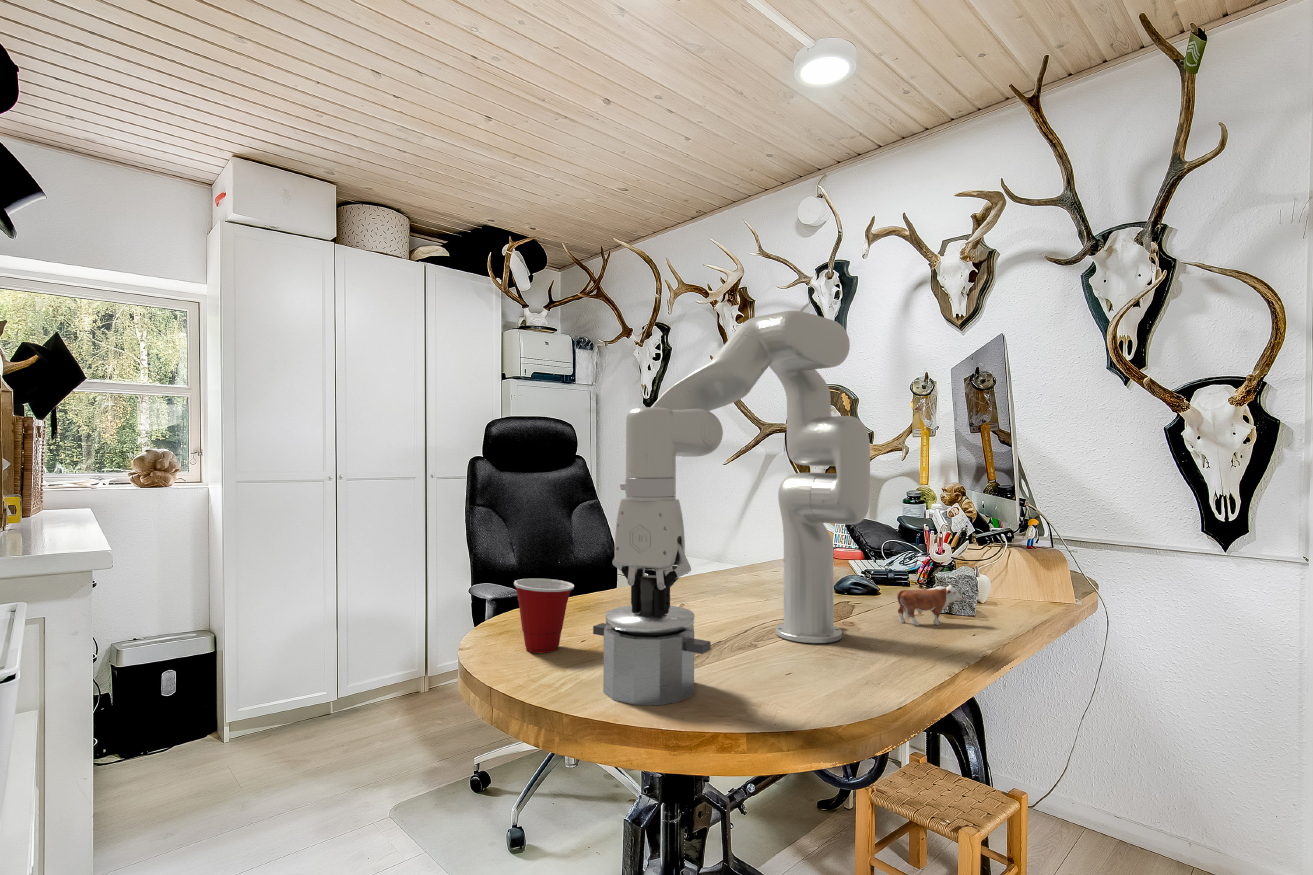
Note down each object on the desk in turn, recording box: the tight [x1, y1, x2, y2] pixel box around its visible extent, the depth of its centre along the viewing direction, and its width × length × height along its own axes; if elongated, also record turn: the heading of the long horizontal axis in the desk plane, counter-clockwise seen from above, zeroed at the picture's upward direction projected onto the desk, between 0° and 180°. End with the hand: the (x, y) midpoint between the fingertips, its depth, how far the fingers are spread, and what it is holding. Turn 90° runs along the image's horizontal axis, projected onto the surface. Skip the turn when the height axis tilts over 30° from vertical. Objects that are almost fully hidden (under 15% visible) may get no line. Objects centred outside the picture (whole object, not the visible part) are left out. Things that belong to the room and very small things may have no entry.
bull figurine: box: [897, 584, 963, 627], centre depth 137 cm, size 4×13×8 cm, turn 91°
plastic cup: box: [513, 578, 575, 654], centre depth 117 cm, size 11×11×12 cm
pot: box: [592, 622, 712, 706], centre depth 97 cm, size 13×19×9 cm
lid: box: [605, 574, 695, 636], centre depth 97 cm, size 13×13×8 cm
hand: (650, 611), depth 97 cm, fingers closed on lid, 3 cm apart
